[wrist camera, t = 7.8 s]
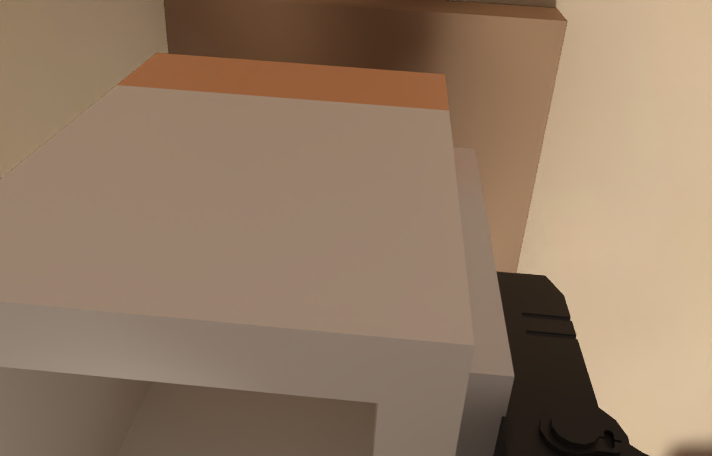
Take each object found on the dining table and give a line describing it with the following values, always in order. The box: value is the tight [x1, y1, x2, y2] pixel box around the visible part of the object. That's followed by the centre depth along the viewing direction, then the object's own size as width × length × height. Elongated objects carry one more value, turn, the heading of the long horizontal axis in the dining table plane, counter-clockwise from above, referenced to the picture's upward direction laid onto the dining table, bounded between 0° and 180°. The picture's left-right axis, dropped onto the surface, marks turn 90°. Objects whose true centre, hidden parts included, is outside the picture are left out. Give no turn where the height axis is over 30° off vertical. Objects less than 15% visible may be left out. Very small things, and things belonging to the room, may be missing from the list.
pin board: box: [164, 0, 567, 273], centre depth 18 cm, size 10×12×6 cm
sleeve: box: [0, 53, 475, 456], centre depth 11 cm, size 6×6×8 cm
